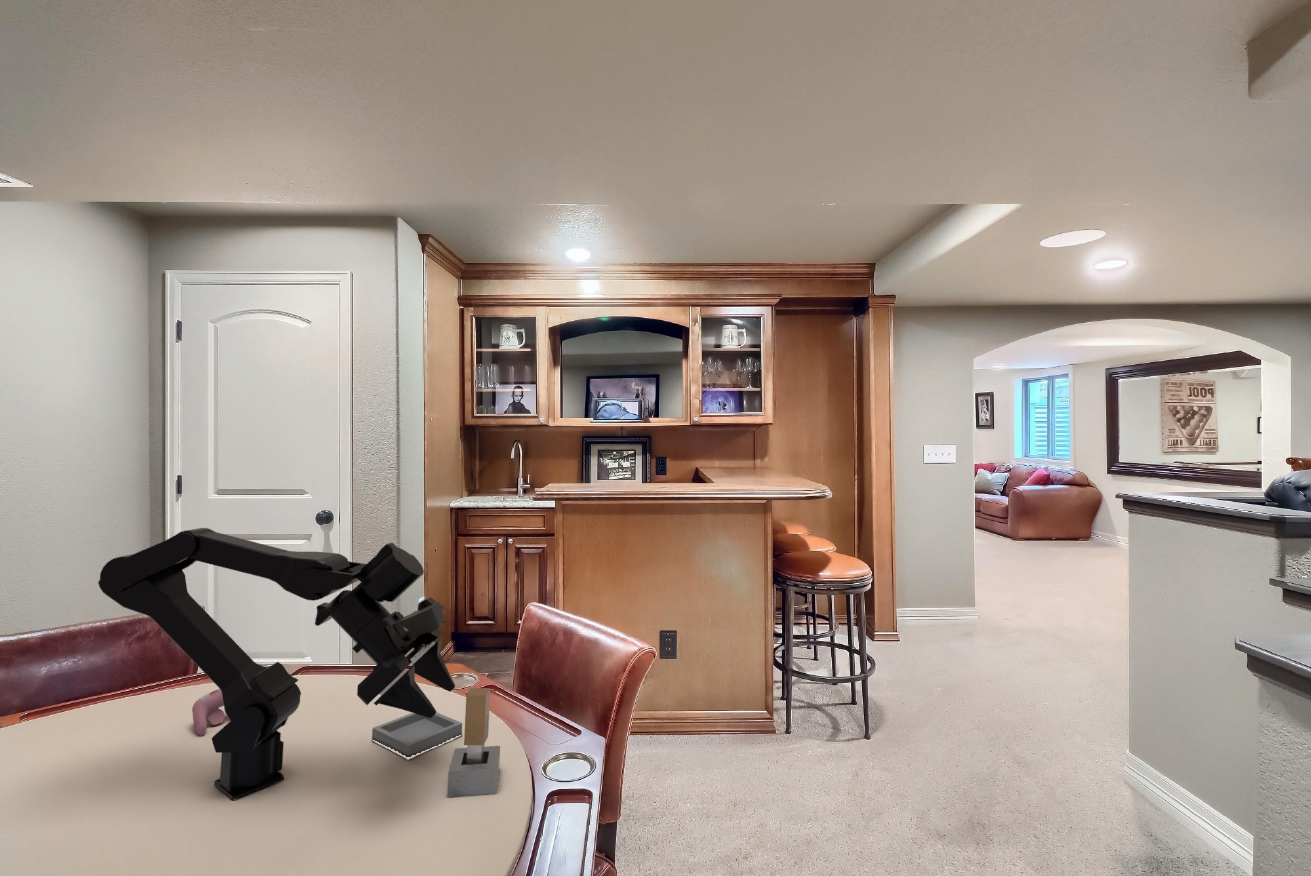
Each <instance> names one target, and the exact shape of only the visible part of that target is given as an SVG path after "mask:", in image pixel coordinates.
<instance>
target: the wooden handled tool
mask: <svg viewBox="0 0 1311 876" xmlns="http://www.w3.org/2000/svg"><path fill="white" fill-rule="evenodd" d="M490 701H491V687H489V688H488V687H487V688H486V687H471V688H470V689H469V691H468V692H467V693H466V697H465V712H464V713H465V714H464V715H465V716H464V719H465V720H464V736H463V746H467V747H466V748H467V765H472V764H484V747H485V744H486V742H487V739H488V737H489V725H490V705H491V704H490V703H491V702H490Z"/></svg>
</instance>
